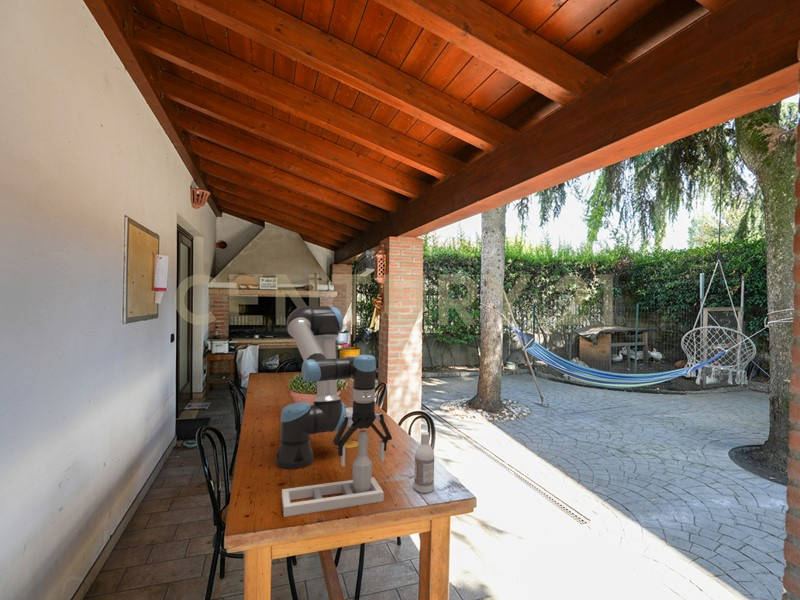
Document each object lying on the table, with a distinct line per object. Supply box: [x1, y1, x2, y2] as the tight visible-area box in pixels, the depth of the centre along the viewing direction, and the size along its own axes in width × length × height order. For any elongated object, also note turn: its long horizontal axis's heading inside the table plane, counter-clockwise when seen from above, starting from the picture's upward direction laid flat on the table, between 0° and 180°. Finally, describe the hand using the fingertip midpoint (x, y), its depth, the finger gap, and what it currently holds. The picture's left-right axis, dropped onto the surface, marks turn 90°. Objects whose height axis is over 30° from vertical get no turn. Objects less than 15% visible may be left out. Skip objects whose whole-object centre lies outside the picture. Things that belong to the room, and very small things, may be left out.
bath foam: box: [413, 431, 435, 494], centre depth 140 cm, size 7×7×20 cm
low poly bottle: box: [352, 429, 373, 494], centre depth 134 cm, size 6×6×22 cm
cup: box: [344, 407, 358, 449], centre depth 182 cm, size 9×9×16 cm
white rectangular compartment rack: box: [281, 476, 385, 518], centre depth 131 cm, size 32×12×3 cm, turn 110°
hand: (362, 462), depth 134 cm, fingers open, 13 cm apart
